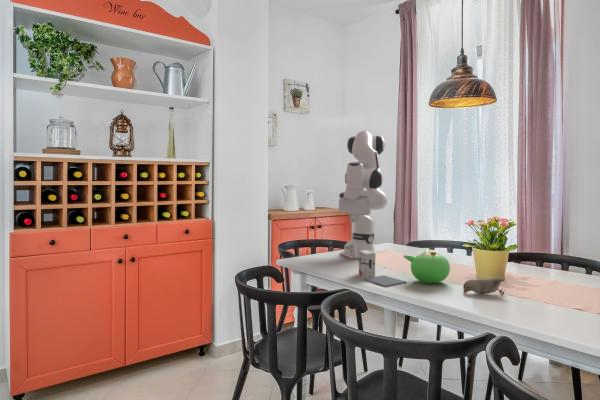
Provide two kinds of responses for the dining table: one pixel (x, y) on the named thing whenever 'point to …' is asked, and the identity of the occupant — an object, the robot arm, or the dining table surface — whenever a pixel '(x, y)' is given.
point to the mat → (384, 281)
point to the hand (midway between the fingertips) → (353, 222)
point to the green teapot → (429, 266)
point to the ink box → (367, 263)
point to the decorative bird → (483, 285)
